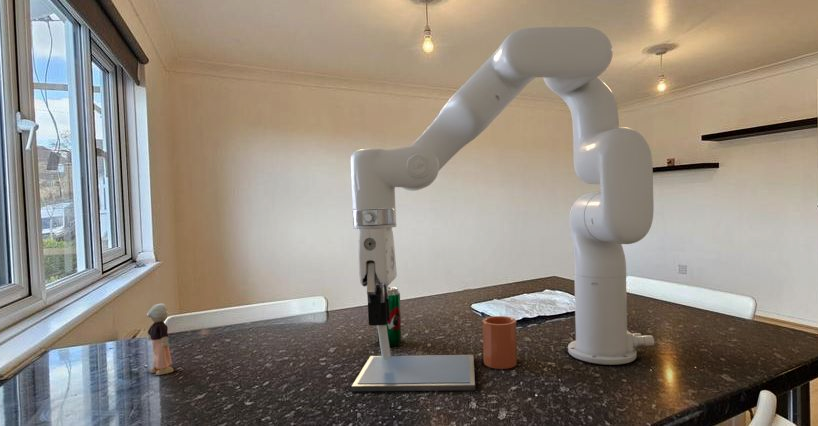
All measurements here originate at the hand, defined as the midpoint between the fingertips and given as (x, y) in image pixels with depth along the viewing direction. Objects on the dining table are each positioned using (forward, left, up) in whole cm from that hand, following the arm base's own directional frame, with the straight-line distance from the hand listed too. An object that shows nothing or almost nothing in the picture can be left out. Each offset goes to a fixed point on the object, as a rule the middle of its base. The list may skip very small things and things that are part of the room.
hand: (379, 322), depth 76 cm
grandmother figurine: (+42, -3, -9) cm, 44 cm away
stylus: (-1, 0, -6) cm, 7 cm away
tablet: (-7, 0, -9) cm, 11 cm away
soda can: (+1, -17, -9) cm, 19 cm away
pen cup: (-22, -5, -9) cm, 24 cm away
